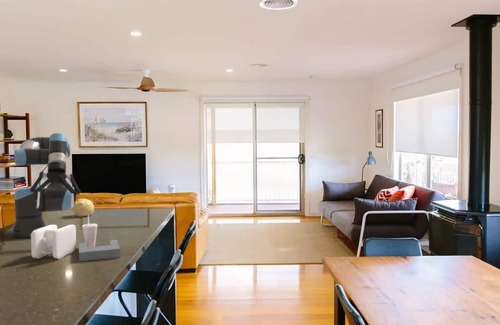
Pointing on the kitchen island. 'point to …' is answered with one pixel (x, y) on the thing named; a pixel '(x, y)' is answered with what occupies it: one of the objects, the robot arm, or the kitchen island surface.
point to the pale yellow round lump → (83, 207)
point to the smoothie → (90, 233)
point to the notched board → (99, 251)
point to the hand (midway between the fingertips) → (55, 207)
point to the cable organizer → (53, 241)
